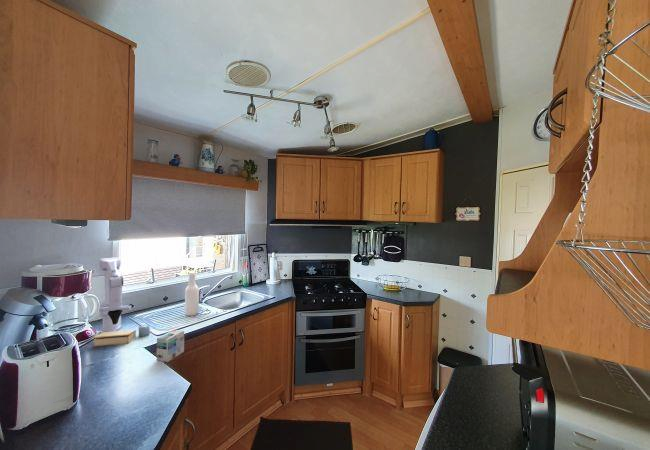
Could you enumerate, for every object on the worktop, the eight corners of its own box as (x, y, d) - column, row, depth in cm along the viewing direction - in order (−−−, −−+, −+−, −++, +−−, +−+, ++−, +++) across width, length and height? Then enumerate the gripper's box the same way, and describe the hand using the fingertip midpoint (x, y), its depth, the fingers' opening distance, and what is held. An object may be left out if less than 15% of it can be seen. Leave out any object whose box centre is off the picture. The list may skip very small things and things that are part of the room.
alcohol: (193, 311, 187) (193, 270, 187) (201, 312, 184) (201, 271, 183) (182, 314, 179) (182, 272, 179) (190, 316, 176) (190, 274, 175)
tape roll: (141, 333, 149) (141, 325, 149) (151, 332, 150) (151, 324, 150) (136, 337, 144) (136, 328, 144) (147, 336, 145) (147, 327, 145)
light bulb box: (167, 362, 119) (167, 339, 118) (155, 360, 120) (155, 338, 120) (184, 351, 129) (184, 330, 129) (173, 349, 130) (173, 329, 130)
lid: (102, 333, 141) (102, 332, 141) (135, 330, 144) (135, 329, 145) (93, 338, 133) (93, 337, 133) (128, 335, 137) (128, 334, 137)
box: (102, 339, 141) (102, 333, 141) (135, 336, 145) (135, 330, 144) (93, 346, 133) (93, 339, 133) (128, 343, 137) (128, 336, 137)
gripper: (95, 302, 133) (95, 327, 133) (126, 300, 136) (126, 325, 137) (103, 298, 140) (103, 322, 140) (133, 296, 143) (133, 320, 143)
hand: (115, 323), depth 139 cm, fingers closed
